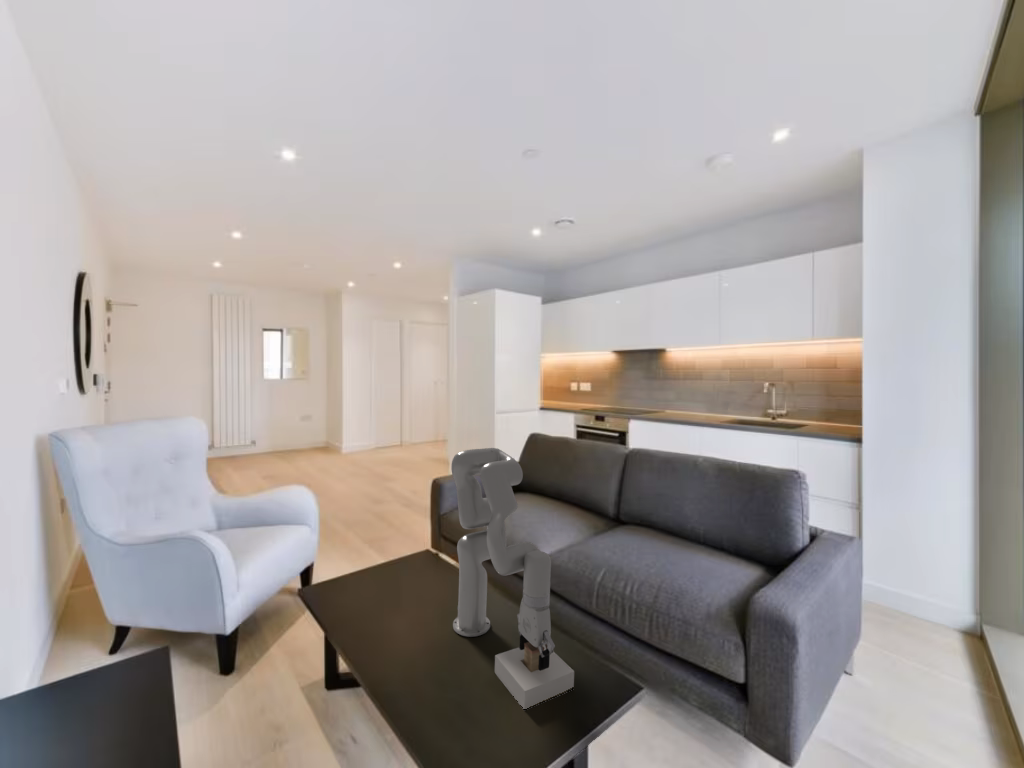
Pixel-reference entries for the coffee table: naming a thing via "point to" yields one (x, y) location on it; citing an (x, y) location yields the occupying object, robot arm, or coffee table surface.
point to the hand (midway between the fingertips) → (533, 658)
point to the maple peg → (531, 657)
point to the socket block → (532, 677)
